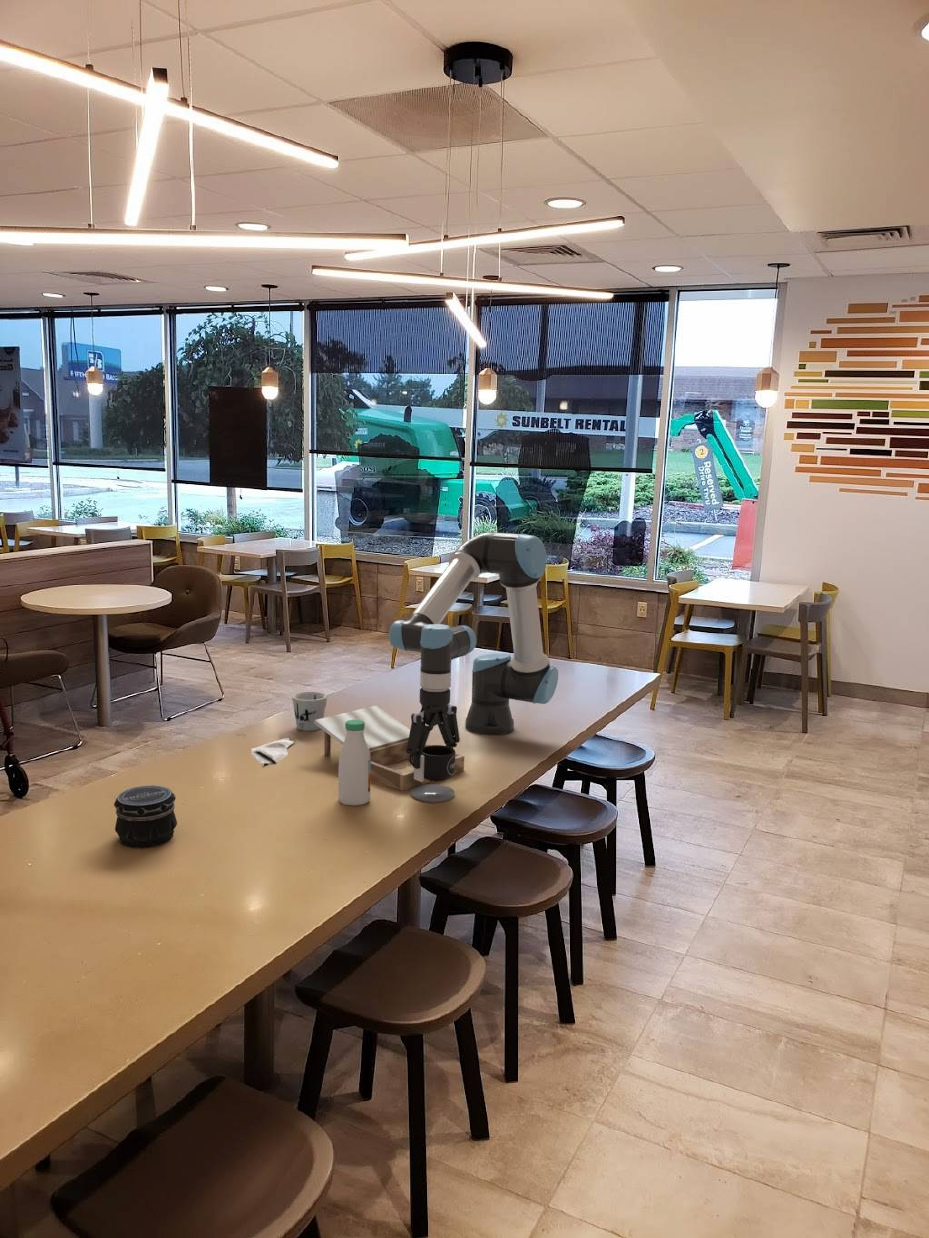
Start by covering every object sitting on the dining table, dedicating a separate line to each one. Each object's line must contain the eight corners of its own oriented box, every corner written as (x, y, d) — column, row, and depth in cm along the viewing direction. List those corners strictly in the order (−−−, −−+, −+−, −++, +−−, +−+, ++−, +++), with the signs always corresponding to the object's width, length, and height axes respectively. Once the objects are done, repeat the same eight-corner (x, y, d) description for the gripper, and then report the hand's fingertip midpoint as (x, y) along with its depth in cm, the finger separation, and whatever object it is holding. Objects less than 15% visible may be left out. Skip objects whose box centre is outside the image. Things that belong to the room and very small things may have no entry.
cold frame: (374, 739, 275) (375, 705, 273) (463, 770, 251) (464, 733, 249) (314, 756, 259) (314, 719, 257) (403, 790, 235) (403, 750, 233)
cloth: (272, 738, 276) (272, 730, 275) (315, 743, 272) (315, 735, 272) (227, 765, 251) (226, 757, 251) (273, 771, 247) (273, 763, 247)
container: (142, 855, 194) (140, 810, 192) (102, 840, 201) (100, 796, 199) (189, 835, 205) (188, 792, 203) (150, 821, 211) (149, 779, 209)
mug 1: (285, 729, 282) (285, 697, 280) (311, 717, 296) (311, 686, 294) (315, 734, 278) (315, 702, 276) (340, 721, 292) (340, 690, 290)
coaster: (432, 783, 240) (432, 781, 240) (463, 794, 233) (463, 792, 233) (401, 793, 232) (401, 791, 232) (432, 806, 225) (432, 803, 225)
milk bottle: (364, 807, 223) (365, 727, 219) (334, 804, 224) (334, 724, 221) (374, 796, 230) (375, 718, 227) (344, 793, 232) (344, 716, 228)
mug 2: (460, 775, 233) (461, 747, 232) (445, 786, 225) (446, 758, 224) (416, 767, 238) (417, 740, 237) (401, 778, 230) (401, 750, 228)
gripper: (454, 678, 238) (452, 762, 242) (391, 692, 223) (390, 781, 226) (476, 683, 233) (473, 769, 237) (413, 698, 217) (411, 790, 221)
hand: (432, 775), depth 232 cm, fingers closed on mug 2, 9 cm apart
